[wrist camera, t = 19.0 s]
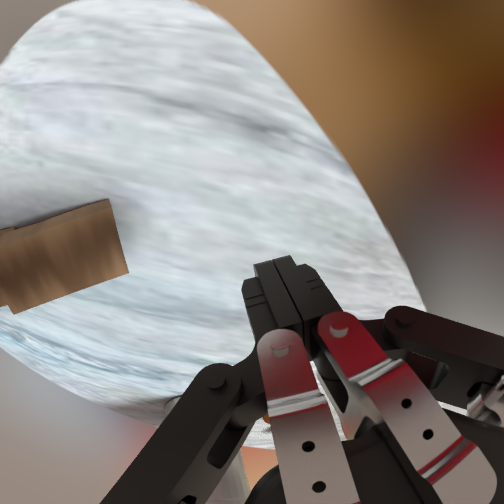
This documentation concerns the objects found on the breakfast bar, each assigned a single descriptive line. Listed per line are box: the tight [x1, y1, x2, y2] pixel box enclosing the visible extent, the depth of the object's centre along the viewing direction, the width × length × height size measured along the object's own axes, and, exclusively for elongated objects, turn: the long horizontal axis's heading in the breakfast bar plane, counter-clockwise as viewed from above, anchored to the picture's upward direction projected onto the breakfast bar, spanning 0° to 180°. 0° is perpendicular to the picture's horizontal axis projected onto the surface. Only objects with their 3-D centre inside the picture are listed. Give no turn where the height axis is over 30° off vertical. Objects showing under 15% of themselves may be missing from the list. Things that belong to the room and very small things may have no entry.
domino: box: [0, 199, 129, 314], centre depth 14 cm, size 5×2×10 cm
